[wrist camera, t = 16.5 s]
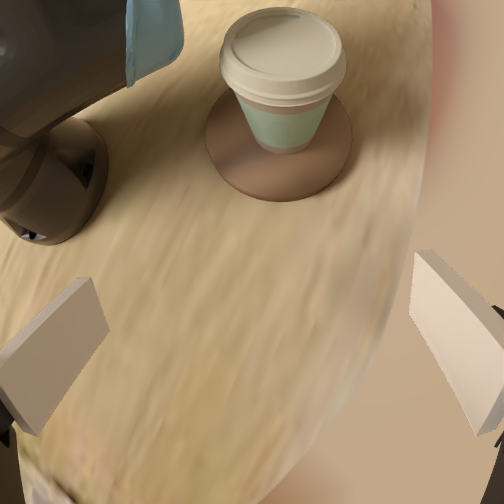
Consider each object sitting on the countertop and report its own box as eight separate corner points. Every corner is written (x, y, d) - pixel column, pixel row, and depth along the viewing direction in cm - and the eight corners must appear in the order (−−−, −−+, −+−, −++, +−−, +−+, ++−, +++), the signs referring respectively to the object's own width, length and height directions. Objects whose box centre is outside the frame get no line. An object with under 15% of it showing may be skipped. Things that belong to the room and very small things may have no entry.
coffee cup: (327, 95, 28) (344, 7, 16) (329, 172, 27) (357, 94, 15) (242, 92, 29) (223, 3, 17) (234, 167, 28) (205, 88, 16)
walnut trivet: (181, 136, 31) (177, 129, 29) (279, 62, 31) (279, 54, 29) (276, 233, 28) (276, 229, 27) (376, 141, 29) (380, 134, 27)
